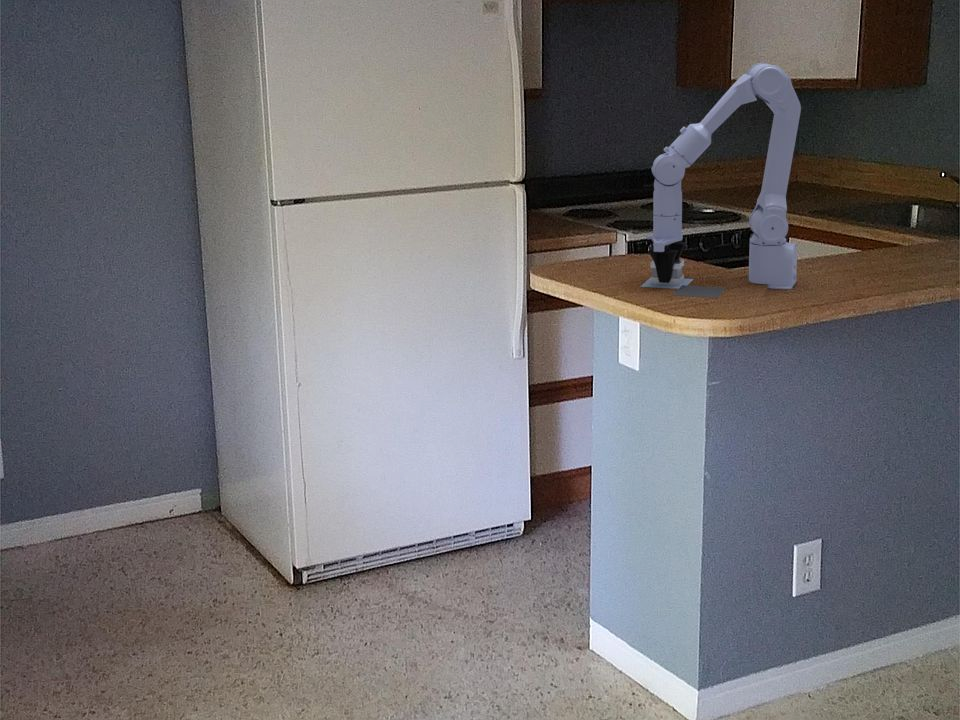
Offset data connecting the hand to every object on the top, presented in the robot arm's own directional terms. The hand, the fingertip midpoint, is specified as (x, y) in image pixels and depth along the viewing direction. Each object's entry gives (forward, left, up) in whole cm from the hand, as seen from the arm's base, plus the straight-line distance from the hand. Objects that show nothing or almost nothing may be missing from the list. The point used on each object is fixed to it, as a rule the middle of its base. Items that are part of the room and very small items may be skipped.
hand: (667, 279), depth 248 cm
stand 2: (-8, +6, -1) cm, 10 cm away
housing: (0, 0, -1) cm, 1 cm away
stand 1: (0, 0, -1) cm, 1 cm away
